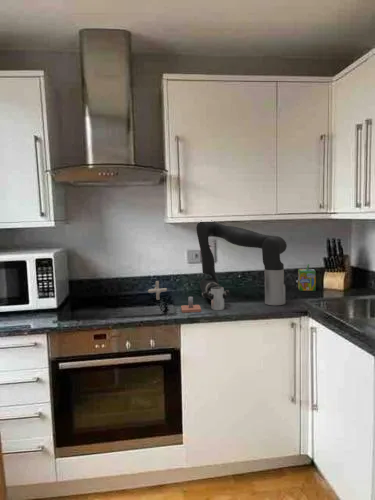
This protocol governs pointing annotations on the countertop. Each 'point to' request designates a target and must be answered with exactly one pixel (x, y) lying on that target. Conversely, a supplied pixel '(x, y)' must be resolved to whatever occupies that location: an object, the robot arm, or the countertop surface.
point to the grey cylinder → (217, 298)
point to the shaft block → (190, 306)
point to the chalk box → (307, 279)
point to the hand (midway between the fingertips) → (218, 297)
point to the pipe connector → (157, 290)
